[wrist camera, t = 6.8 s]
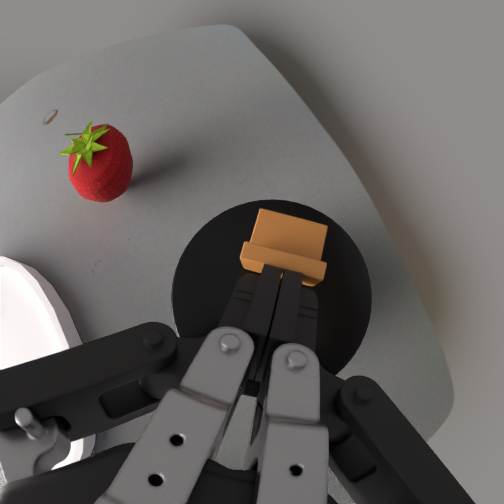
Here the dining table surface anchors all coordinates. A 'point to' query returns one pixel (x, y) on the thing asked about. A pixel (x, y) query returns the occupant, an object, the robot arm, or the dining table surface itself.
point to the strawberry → (100, 163)
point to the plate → (35, 328)
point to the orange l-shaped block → (286, 246)
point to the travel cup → (327, 291)
